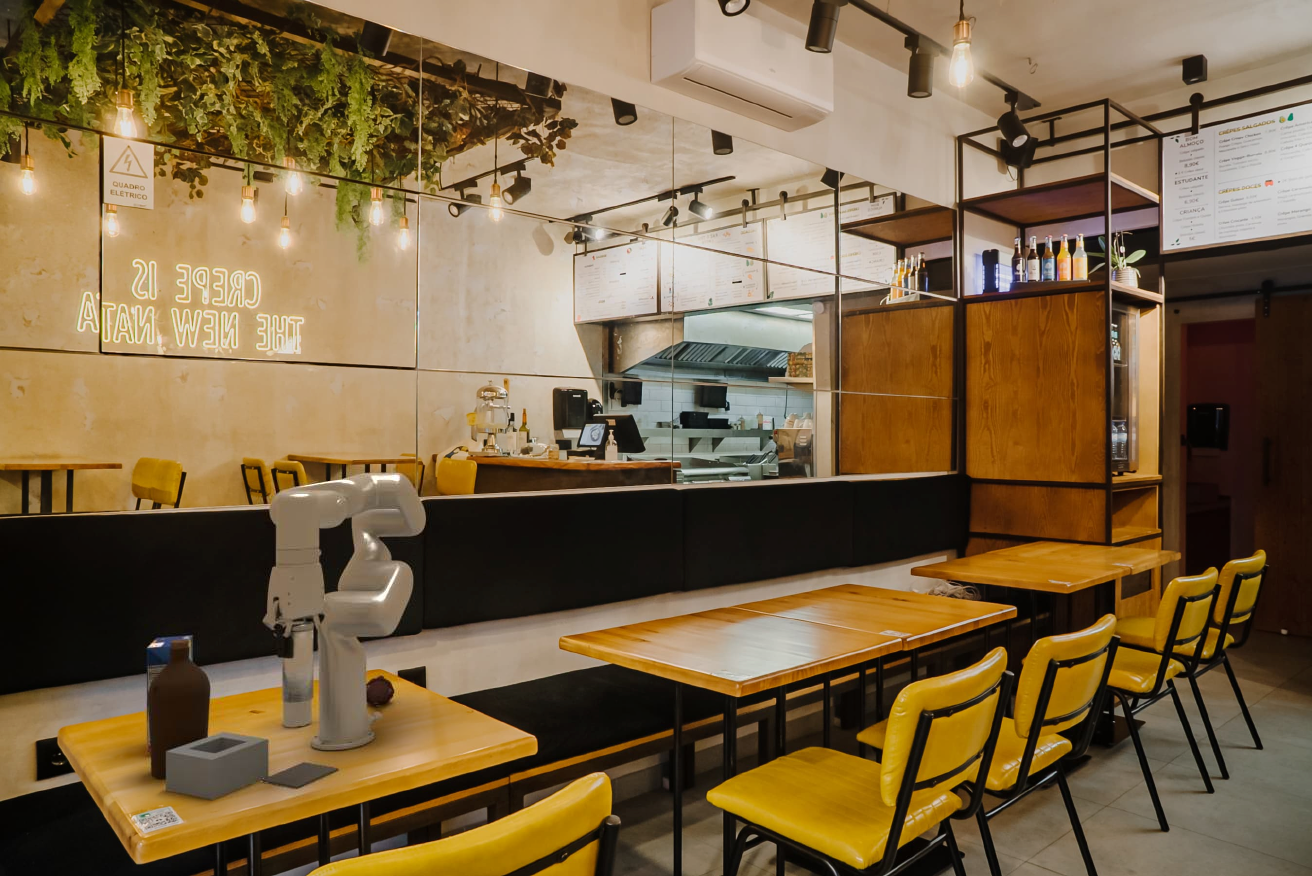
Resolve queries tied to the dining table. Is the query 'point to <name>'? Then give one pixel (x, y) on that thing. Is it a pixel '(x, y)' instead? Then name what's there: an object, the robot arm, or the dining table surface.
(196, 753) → the housing
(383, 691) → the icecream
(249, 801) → the dining table surface
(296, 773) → the mat
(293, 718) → the paper towel roll
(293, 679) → the silver metallic cylinder
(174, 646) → the olive oil
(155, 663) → the beverage box
